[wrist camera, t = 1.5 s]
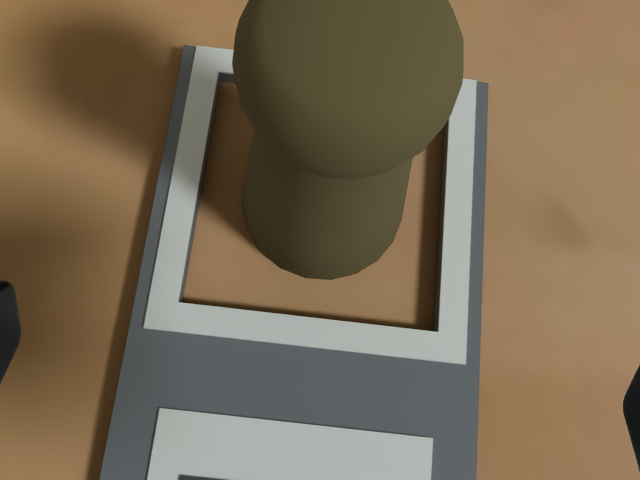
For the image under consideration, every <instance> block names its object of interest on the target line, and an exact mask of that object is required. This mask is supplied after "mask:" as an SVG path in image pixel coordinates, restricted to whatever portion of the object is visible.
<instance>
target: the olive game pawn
mask: <svg viewBox="0 0 640 480" xmlns="http://www.w3.org/2000/svg"><path fill="white" fill-rule="evenodd" d="M232 68H233V73H234V79H235V83H236V87H237V91H238V95H239V99H240V103H241V107H242V110H243V112H244V113H245V115H246V116H247V118H248V119H249V121H250V122H251V124H252V126H253V127H254V129H255V130H254V135H253V141H252V146H251V152H250V157H249V163H248V168H247V174H246V179H245V186H244V195H243V205H242V208H243V212H244V216H245V221H246V225H247V229H248V232H249V233H250V235H251V236H252V238H253V240H254V241H255V243H256V244H257V246H258V248H259V249H260V251H261V252H262V253H263V254H264V255H266V256H267V257H268V258H269V259H270V260H272V261H273V262H274V263H275V264H276V265H278V266H279V267H280V268H282V269H284V270H287V271H289V272H292V273H294V274H297V275H299V276H302V277H304V278H314V279H328V280H332V279H336V278H340V277H345V276H349V275H353V274H356V273H358V272H360V271H361V270H363V269H365V268H366V267H368V266H369V265H371V264H373V263H374V262H376V261H377V260H378V259H379V258H380V257H381V256H382V254H383V253H384V252H385V251H386V250H387V248H388V247H389V246H390V245H391V244H392V242H393V241H394V238H395V235H396V233H397V230H398V227H399V225H400V222H401V219H402V214H403V208H404V202H405V197H406V191H407V186H408V180H409V175H410V169H411V163H412V158H413V157H414V156H416V155H417V154H419V153H421V152H422V151H423V150H424V149H425V148H426V147H427V146H428V145H429V143H430V142H431V141H432V140H433V139H434V138H435V136H436V135H437V134H438V133H439V132H440V131H441V129H442V128H443V127H444V126H445V124H446V122H447V121H448V119H449V117H450V115H451V113H452V111H453V108H454V105H455V103H456V100H457V97H458V94H459V92H460V89H461V86H462V82H463V36H462V33H461V31H460V28H459V25H458V22H457V20H456V17H455V14H454V11H453V9H452V7H451V5H450V3H449V1H448V0H249V1H248V3H247V5H246V7H245V9H244V11H243V13H242V15H241V17H240V19H239V23H238V26H237V30H236V34H235V43H234V51H233V60H232Z"/></svg>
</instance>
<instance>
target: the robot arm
mask: <svg viewBox="0 0 640 480" xmlns="http://www.w3.org/2000/svg"><path fill="white" fill-rule="evenodd" d="M20 336H21V326H20V320H19V313H18V307H17V301H16V295H15V290H14V287H13V286H12V284H11V283H9V282H8V281H1V280H0V384H1V382H2V379H3V377H4V375H5V373H6V371H7V369H8V366H9V364H10V362H11V360H12V358H13V356H14V354H15V351H16V349H17V347H18V344H19V341H20ZM623 412H624V417H625V420H626V424H627V427H628V431H629V435H630V438H631V442H632V445H633V449H634V453H635V456H636V460H637V464H638V467H639V471H640V365H639V367H638V369H637V371H636V373H635V375H634V378H633V380H632V382H631V384H630V386H629V388H628V390H627V392H626V394H625V397H624V401H623Z"/></svg>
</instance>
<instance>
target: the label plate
mask: <svg viewBox="0 0 640 480" xmlns="http://www.w3.org/2000/svg"><path fill="white" fill-rule="evenodd" d="M233 51H234V50H229V49H221V48H213V47H205V46H196V47H193V46H185V45H184V48H183V53H182V58H181V64H180V69H179V74H178V79H177V84H176V89H175V94H174V99H173V105H172V110H171V115H170V120H169V125H168V130H167V135H166V140H165V146H164V151H163V156H162V161H161V166H160V171H159V176H158V181H157V187H156V192H155V197H154V202H153V207H152V212H151V217H150V223H149V228H148V233H147V238H146V243H145V248H144V253H143V258H142V264H141V269H140V274H139V279H138V284H137V289H136V294H135V299H134V305H133V310H132V315H131V320H130V325H129V330H128V335H127V340H126V346H125V351H124V356H123V361H122V366H121V371H120V376H119V381H118V387H117V392H116V397H115V402H114V407H113V412H112V417H111V422H110V428H109V433H108V438H107V443H106V448H105V453H104V458H103V463H102V469H101V474H100V479H99V480H476V465H477V433H478V400H479V368H480V336H481V304H482V272H483V240H484V208H485V176H486V144H487V111H488V83H482V82H477V80H470V79H463V82H462V86H461V89H460V92H459V94H458V97H457V100H456V103H455V105H454V108H453V111H452V113H451V115H450V117H449V119H448V121H447V122H446V124H445V130H444V149H443V168H442V187H441V206H440V225H439V243H438V262H437V281H436V300H435V319H434V331H426V330H417V329H408V328H399V327H391V326H382V325H373V324H364V323H356V322H347V321H338V320H329V319H321V318H312V317H303V316H294V315H286V314H277V313H268V312H260V311H251V310H242V309H233V308H225V307H216V306H207V305H198V304H190V303H182V300H183V294H184V288H185V282H186V276H187V271H188V265H189V259H190V253H191V247H192V242H193V236H194V230H195V224H196V218H197V213H198V207H199V201H200V195H201V189H202V184H203V178H204V172H205V166H206V160H207V155H208V149H209V143H210V137H211V131H212V126H213V120H214V114H215V108H216V102H217V97H218V91H219V85H220V81H225V82H233V83H235V79H234V73H233V68H232V60H233Z"/></svg>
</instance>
